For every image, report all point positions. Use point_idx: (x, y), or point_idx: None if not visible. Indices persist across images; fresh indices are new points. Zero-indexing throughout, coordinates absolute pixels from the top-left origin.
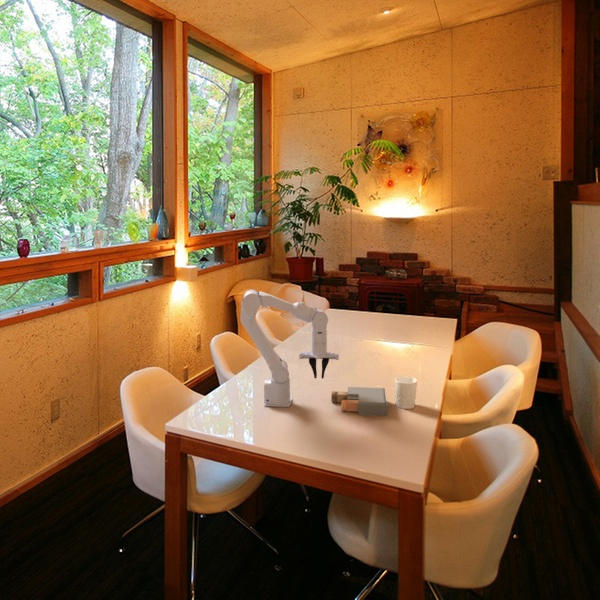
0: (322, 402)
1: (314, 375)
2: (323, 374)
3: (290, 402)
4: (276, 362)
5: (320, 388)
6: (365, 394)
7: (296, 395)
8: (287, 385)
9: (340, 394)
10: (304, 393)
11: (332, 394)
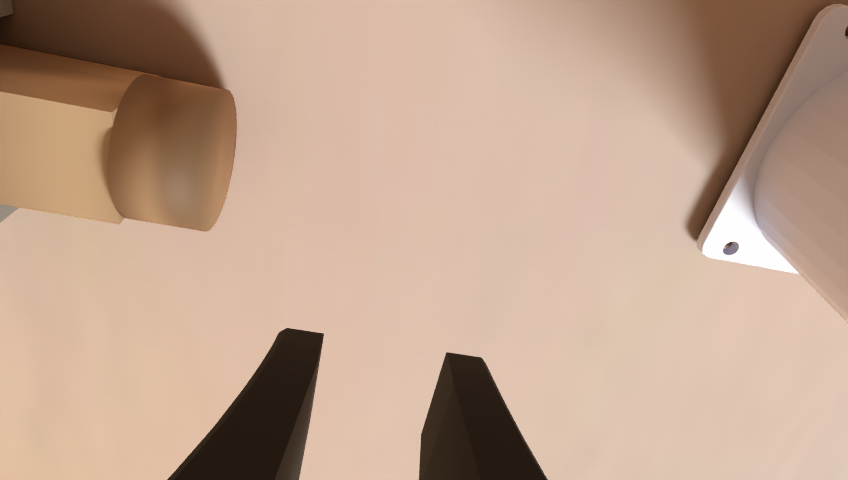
0: (355, 127)
1: (496, 397)
2: (254, 386)
3: (768, 125)
4: None
5: (349, 455)
6: None
7: (612, 336)
8: None
9: (50, 101)
10: (520, 371)
11: (187, 129)
